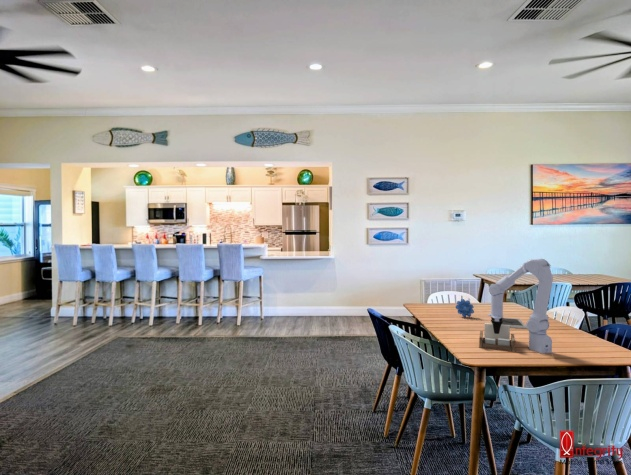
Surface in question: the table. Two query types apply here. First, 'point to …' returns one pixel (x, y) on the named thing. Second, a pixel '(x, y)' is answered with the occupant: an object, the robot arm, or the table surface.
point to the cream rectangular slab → (502, 334)
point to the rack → (496, 346)
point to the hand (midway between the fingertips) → (496, 332)
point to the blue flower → (465, 308)
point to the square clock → (514, 323)
